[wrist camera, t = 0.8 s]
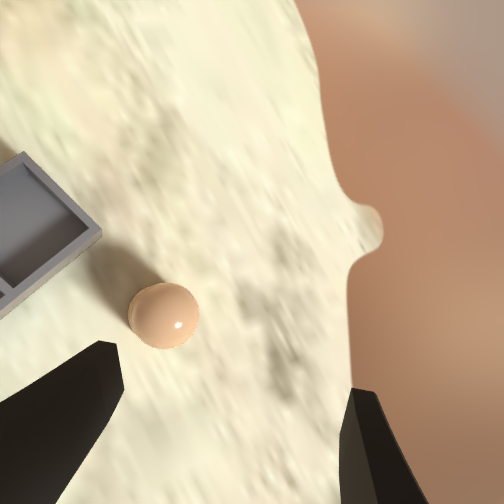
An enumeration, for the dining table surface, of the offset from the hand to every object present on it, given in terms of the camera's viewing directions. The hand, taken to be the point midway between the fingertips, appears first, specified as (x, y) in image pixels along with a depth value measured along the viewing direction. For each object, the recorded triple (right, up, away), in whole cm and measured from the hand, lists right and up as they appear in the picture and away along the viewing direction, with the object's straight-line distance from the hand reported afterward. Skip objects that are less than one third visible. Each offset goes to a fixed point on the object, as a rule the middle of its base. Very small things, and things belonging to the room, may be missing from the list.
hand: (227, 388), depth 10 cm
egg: (-6, 0, +15) cm, 17 cm away
